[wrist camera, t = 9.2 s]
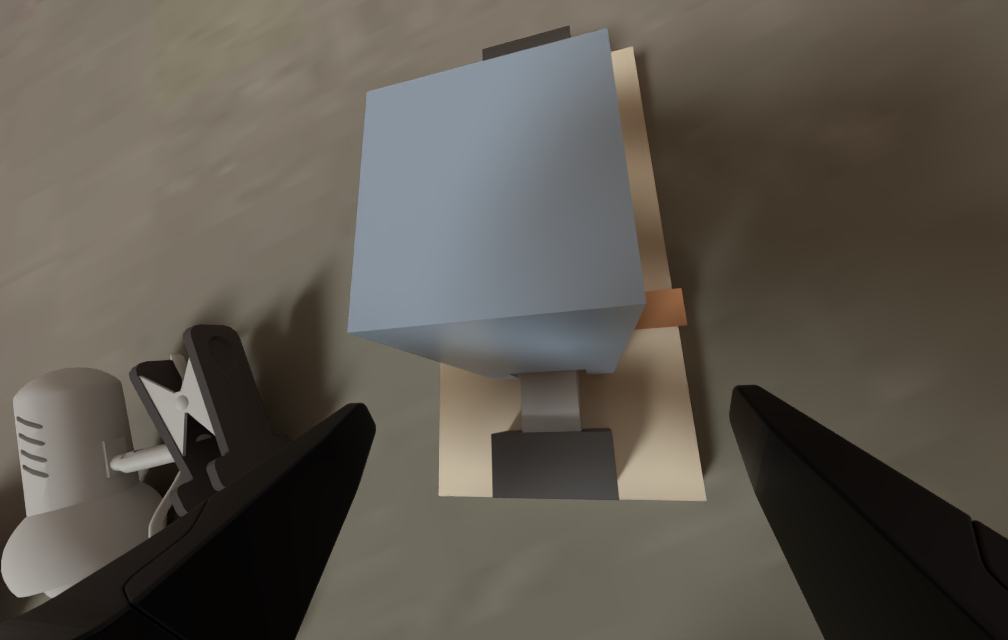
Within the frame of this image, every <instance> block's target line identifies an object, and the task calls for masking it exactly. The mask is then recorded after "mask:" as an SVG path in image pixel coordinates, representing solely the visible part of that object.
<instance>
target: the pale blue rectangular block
mask: <svg viewBox="0 0 1008 640" xmlns="http://www.w3.org/2000/svg"><path fill="white" fill-rule="evenodd" d="M645 306H646V297H645V290H644V283H643V276H642V269H641V262H640V255H639V248H638V241H637V234H636V227H635V219H634V212H633V205H632V198H631V191H630V184H629V177H628V170H627V163H626V156H625V149H624V142H623V135H622V128H621V121H620V113H619V106H618V99H617V92H616V85H615V78H614V71H613V64H612V57H611V50H610V43H609V36H608V29H607V28H605V29H602V30H598V31H594V32H590V33H586V34H583V35H579V36H575V37H571V38H568V39H564V40H560V41H556V42H553V43H549V44H545V45H541V46H538V47H534V48H530V49H526V50H522V51H519V52H515V53H511V54H507V55H504V56H500V57H496V58H492V59H489V60H485V61H481V62H477V63H474V64H470V65H466V66H462V67H458V68H455V69H451V70H447V71H443V72H440V73H436V74H432V75H428V76H425V77H421V78H417V79H413V80H410V81H406V82H402V83H398V84H394V85H391V86H387V87H383V88H379V89H376V90H372V91H368V92H367V99H366V111H365V123H364V136H363V148H362V160H361V172H360V185H359V197H358V209H357V221H356V234H355V246H354V258H353V270H352V283H351V295H350V307H349V319H348V332H347V333H350V334H353V335H356V336H359V337H363V338H366V339H369V340H372V341H375V342H378V343H381V344H384V345H388V346H391V347H394V348H397V349H400V350H403V351H406V352H409V353H413V354H416V355H419V356H422V357H425V358H428V359H431V360H434V361H438V362H441V363H444V364H447V365H450V366H453V367H456V368H459V369H463V370H466V371H469V372H472V373H475V374H478V375H481V376H484V377H488V378H491V379H494V380H502V379H519V373H534V372H550V371H567V370H583V369H586V373H587V375H590V374H608V373H614V371H615V369H616V367H617V365H618V363H619V360H620V358H621V356H622V354H623V352H624V350H625V348H626V346H627V344H628V341H629V339H630V337H631V335H632V333H633V331H634V329H635V327H636V325H637V323H638V320H639V318H640V316H641V314H642V312H643V310H644V308H645Z"/></svg>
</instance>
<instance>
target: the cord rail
mask: <svg viewBox="0 0 1008 640" xmlns="http://www.w3.org/2000/svg"><path fill="white" fill-rule="evenodd" d="M568 38H571V37H570V27H569V26H566V27H562V28H559V29H555V30H551V31H548V32H544V33H540V34H537V35H533V36H529V37H526V38H522V39H518V40H515V41H511V42H507V43H504V44H500V45H496V46H493V47H489V48H486V49H483V61H485V60H489V59H492V58H496V57H500V56H504V55H507V54H511V53H515V52H519V51H522V50H526V49H530V48H534V47H538V46H541V45H545V44H549V43H553V42H556V41H560V40H564V39H568ZM611 57H612V64H613V71H614V78H615V85H616V92H617V99H618V106H619V113H620V121H621V128H622V135H623V142H624V149H625V156H626V163H627V170H628V177H629V184H630V191H631V198H632V205H633V212H634V219H635V227H636V234H637V241H638V248H639V255H640V262H641V269H642V276H643V283H644V290H645V297H646V306H645V308H644V310H643V312H642V314H641V316H640V318H639V320H638V323H637V325H636V327H635V329H634V331H633V333H632V335H631V337H630V339H629V341H628V344H627V346H626V348H625V350H624V352H623V354H622V356H621V358H620V360H619V363H618V365H617V367H616V369H615V371H614V373H608V374H590V375H587V373H586V369H583V370H567V371H550V372H534V373H519V379H502V380H494V379H491V378H488V377H484V376H481V375H478V374H475V373H472V372H469V371H466V370H463V369H459V368H456V367H453V366H450V365H447V364H444V363H440V441H439V496H471V497H493V498H534V499H585V500H619V499H629V500H681V501H706V494H705V488H704V482H703V476H702V470H701V464H700V457H699V451H698V445H697V439H696V433H695V427H694V421H693V414H692V408H691V402H690V396H689V390H688V384H687V377H686V371H685V365H684V359H683V353H682V347H681V341H680V334H679V328H678V326H687V319H686V313H685V307H684V301H683V295H682V289H681V288H676V289H672V285H671V279H670V273H669V267H668V261H667V254H666V248H665V242H664V236H663V230H662V224H661V218H660V211H659V205H658V199H657V193H656V187H655V181H654V174H653V168H652V162H651V156H650V150H649V144H648V138H647V131H646V125H645V119H644V113H643V107H642V101H641V95H640V88H639V82H638V76H637V70H636V64H635V58H634V51H633V47H629V48H625V49H621V50H617V51H613V52H611Z"/></svg>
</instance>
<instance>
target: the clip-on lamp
mask: <svg viewBox="0 0 1008 640" xmlns="http://www.w3.org/2000/svg"><path fill="white" fill-rule="evenodd" d="M183 339H184V343H185V346H186V349H187V352H188V355H189V360H188V364H187V363H186V360H185V358H184V356H183V355H179V354H172V355H170V360H163V361H146V362H143V363H140V364H138V365H136V366H135V367H133V368H132V370H131V371H130V372H129V376H130V380H131V382H132V384H133V386H134V388H135V389H136V391H137V393H138V395H139V397H140V399H141V401H142V402H143V404H144V406H145V408H146V410H147V412H148V413H149V415H150V417H151V419H152V421H153V423H154V425H155V426H156V428H157V430H158V432H159V434H160V436H161V437H162V439H163V441H164V443H165V444H162V445H158V446H154V447H150V448H146V449H140V450H136V451H134V448H133V442H132V437H131V431H130V426H129V420H128V415H127V409H126V404H125V398H124V393H123V388H122V384H121V381H120V380H118V379H117V378H116V377H114V376H112V375H111V374H109V373H106V372H103V371H101V370H97V369H92V368H66V369H61V370H57V371H53V372H49V373H47V374H44V375H42V376H39V377H37V378H36V379H34V380H32V381H30V382H29V383H28V384H26V385H25V386H24V387H23V388H22V389H20V390H19V392H18V393H17V394H16V395H15V397H14V398H13V407H14V415H15V424H16V432H17V440H18V449H19V457H20V465H21V474H22V482H23V490H24V498H25V507H26V515H27V517H26V518H25V519H24V520H23V521H22V522H21V523H20V524H19V525H18V527H17V528H16V529H15V531H14V532H13V534H12V535H11V537H10V538H9V540H8V542H7V544H6V546H5V549H4V551H3V555H2V560H1V572H2V576H3V579H4V581H5V583H6V585H7V586H8V588H9V589H10V591H11V592H12V593H13V594H14V595H16V596H17V597H27V596H32V595H35V594H39V593H43V592H44V593H45V594H46V595H47V596H49V597H50V598H54V597H55V596H57V595H58V594H60V593H62V592H63V591H65V590H67V589H68V588H70V587H71V586H73V585H75V584H76V583H78V582H79V581H81V580H83V579H84V578H86V577H87V576H89V575H91V574H92V573H94V572H95V571H97V570H99V569H100V568H102V567H104V566H105V565H107V564H108V563H110V562H112V561H113V560H115V559H116V558H118V557H120V556H121V555H123V554H124V553H126V552H128V551H129V550H131V549H132V548H134V547H136V546H137V545H139V544H140V543H142V542H143V541H145V540H147V539H148V538H150V537H151V536H153V535H154V534H156V533H158V532H159V531H161V530H162V529H164V528H165V527H166V524H167V512H168V510H169V508H170V507H171V505H172V504H173V507H174V509H175V511H176V513H177V514H178V515H179V517H182V516H183V515H185V514H186V513H188V512H189V511H191V510H192V509H194V508H195V507H197V506H198V505H200V504H201V503H203V502H204V501H206V500H209V498H210V497H212V496H213V495H214V494H216V493H217V492H219V491H220V490H222V489H223V488H225V487H226V486H228V485H229V484H231V483H232V482H234V481H235V480H237V479H238V478H239V477H241V476H242V475H244V474H245V473H247V472H248V471H250V470H251V469H253V468H254V467H256V466H257V465H259V464H260V463H262V462H263V461H264V460H266V459H267V458H269V457H270V456H272V455H273V454H275V453H276V452H278V451H279V450H281V449H282V448H284V447H285V446H287V445H288V444H289V439H288V438H287V436H286V435H284V434H281V435H278V436H275V437H274V436H273V433H272V430H271V427H270V424H269V421H268V418H267V416H266V413H265V410H264V407H263V404H262V401H261V398H260V395H259V392H258V389H257V387H256V384H255V381H254V378H253V375H252V372H251V369H250V366H249V363H248V361H247V358H246V355H245V352H244V349H243V346H242V343H241V340H240V337H239V336H238V334H237V333H236V331H234V330H233V329H232V328H231V327H228V326H224V325H195V326H193V327H191V328H189V329H187V330H186V331H185V332H184V334H183ZM172 462H175V463H176V465H177V467H178V469H179V472H178V474H177V476H176V478H175V480H174V482H173V484H172V485H171V487H170V488H169V490H168V492H167V493H166V495H165V496H164V498H162V497H161V495H160V494H159V493H158V492H157V491H156V490H155V489H154V488H152V487H151V486H149V485H147V484H145V483H143V482H140V480H139V475H138V471H139V470H143V469H147V468H151V467H155V466H160V465H164V464H168V463H172Z"/></svg>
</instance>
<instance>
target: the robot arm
mask: <svg viewBox="0 0 1008 640" xmlns="http://www.w3.org/2000/svg"><path fill="white" fill-rule="evenodd" d="M729 418H730V423H731V427H732V429H733V432H734V435H735V438H736V441H737V444H738V447H739V450H740V453H741V455H742V458H743V461H744V464H745V467H746V470H747V473H748V476H749V478H750V481H751V484H752V487H753V489H754V492H755V494H756V496H757V499H758V501H759V503H760V505H761V507H762V509H763V512H764V514H765V516H766V518H767V520H768V522H769V524H770V526H771V528H772V530H773V532H774V534H775V537H776V539H777V541H778V543H779V545H780V547H781V549H782V551H783V553H784V555H785V557H786V559H787V562H788V564H789V566H790V568H791V570H792V572H793V574H794V576H795V578H796V580H797V582H798V584H799V587H800V589H801V591H802V593H803V595H804V597H805V599H806V601H807V603H808V605H809V607H810V610H811V612H812V614H813V616H814V618H815V620H816V622H817V624H818V626H819V628H820V630H821V632H822V635H823V637H824V639H825V640H1008V539H1007V538H1005V537H1003V536H1002V535H1000V534H999V533H997V532H995V531H994V530H992V529H990V528H989V527H987V526H986V525H984V524H982V523H981V522H979V521H976V520H973V521H972V519H971V517H970V516H969V515H967V514H966V513H964V512H963V511H961V510H959V509H958V508H956V507H954V506H953V505H951V504H950V503H948V502H946V501H945V500H943V499H941V498H940V497H938V496H937V495H935V494H933V493H932V492H930V491H929V490H927V489H925V488H924V487H922V486H920V485H919V484H917V483H916V482H914V481H912V480H911V479H909V478H907V477H906V476H904V475H903V474H901V473H899V472H898V471H896V470H894V469H893V468H891V467H890V466H888V465H886V464H885V463H883V462H881V461H880V460H878V459H877V458H875V457H873V456H872V455H870V454H868V453H867V452H865V451H864V450H862V449H860V448H859V447H857V446H856V445H854V444H852V443H851V442H849V441H847V440H846V439H844V438H843V437H841V436H839V435H838V434H836V433H834V432H833V431H831V430H830V429H828V428H826V427H825V426H823V425H821V424H820V423H818V422H817V421H815V420H813V419H812V418H810V417H808V416H807V415H805V414H804V413H802V412H800V411H799V410H797V409H795V408H794V407H792V406H791V405H789V404H787V403H786V402H784V401H783V400H781V399H779V398H778V397H776V396H774V395H773V394H771V393H770V392H768V391H766V390H765V389H763V388H761V387H760V386H757V385H738V386H735V387H734V389H733V392H732V398H731V405H730V412H729ZM375 433H376V425H375V422H374V420H373V418H372V416H371V414H370V412H369V410H368V408H367V407H366V405H365V404H363V403H350V404H347V405H345V406H344V407H342V408H341V409H339V410H338V411H337V412H335V413H334V414H332V415H331V416H329V417H328V418H326V419H325V420H323V421H322V422H320V423H319V424H317V425H316V426H314V427H313V428H312V429H310V430H309V431H307V432H306V433H304V434H303V435H301V436H300V437H298V438H297V439H295V440H294V441H292V442H291V443H289V444H288V445H287V446H285V447H284V448H282V449H281V450H279V451H278V452H276V453H275V454H273V455H272V456H270V457H269V458H267V459H266V460H264V461H263V462H262V463H260V464H259V465H257V466H256V467H254V468H253V469H251V470H250V471H248V472H247V473H245V474H244V475H242V476H241V477H239V478H238V479H237V480H235V481H234V482H232V483H231V484H229V485H228V486H226V487H225V488H223V489H222V490H220V491H219V492H217V493H216V494H214V495H213V496H212V497H210V498H209V500H206V501H204V502H203V503H201V504H200V505H198V506H197V507H195V508H194V509H192V510H191V511H189V512H188V513H186V514H185V515H183V516H182V517H180V518H179V519H177V520H176V521H174V522H173V523H171V524H170V525H168V526H167V527H165V528H164V529H162V530H161V531H159V532H158V533H156V534H154V535H153V536H151V537H150V538H148V539H147V540H145V541H143V542H142V543H140V544H139V545H137V546H136V547H134V548H132V549H131V550H129V551H128V552H126V553H124V554H123V555H121V556H120V557H118V558H116V559H115V560H113V561H112V562H110V563H108V564H107V565H105V566H104V567H102V568H100V569H99V570H97V571H95V572H94V573H92V574H91V575H89V576H87V577H86V578H84V579H83V580H81V581H79V582H78V583H76V584H75V585H73V586H71V587H70V588H68V589H67V590H65V591H63V592H62V593H60V594H58V595H57V596H55V597H54V598H52V599H50V600H48V601H47V602H45V603H43V604H41V605H40V606H38V607H36V608H34V609H32V610H30V611H28V612H26V613H23V614H21V615H19V616H16V617H14V618H12V619H9V620H7V621H4V622H1V623H0V640H295V638H296V636H297V633H298V631H299V629H300V626H301V624H302V621H303V619H304V617H305V614H306V612H307V609H308V607H309V605H310V602H311V600H312V597H313V595H314V593H315V590H316V588H317V585H318V583H319V581H320V578H321V576H322V574H323V571H324V569H325V566H326V564H327V562H328V559H329V557H330V554H331V552H332V550H333V547H334V545H335V542H336V540H337V538H338V535H339V533H340V530H341V528H342V526H343V523H344V521H345V519H346V516H347V514H348V511H349V509H350V507H351V504H352V502H353V499H354V497H355V495H356V492H357V489H358V487H359V484H360V481H361V478H362V475H363V472H364V469H365V465H366V462H367V459H368V456H369V452H370V449H371V446H372V443H373V440H374V436H375Z"/></svg>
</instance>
